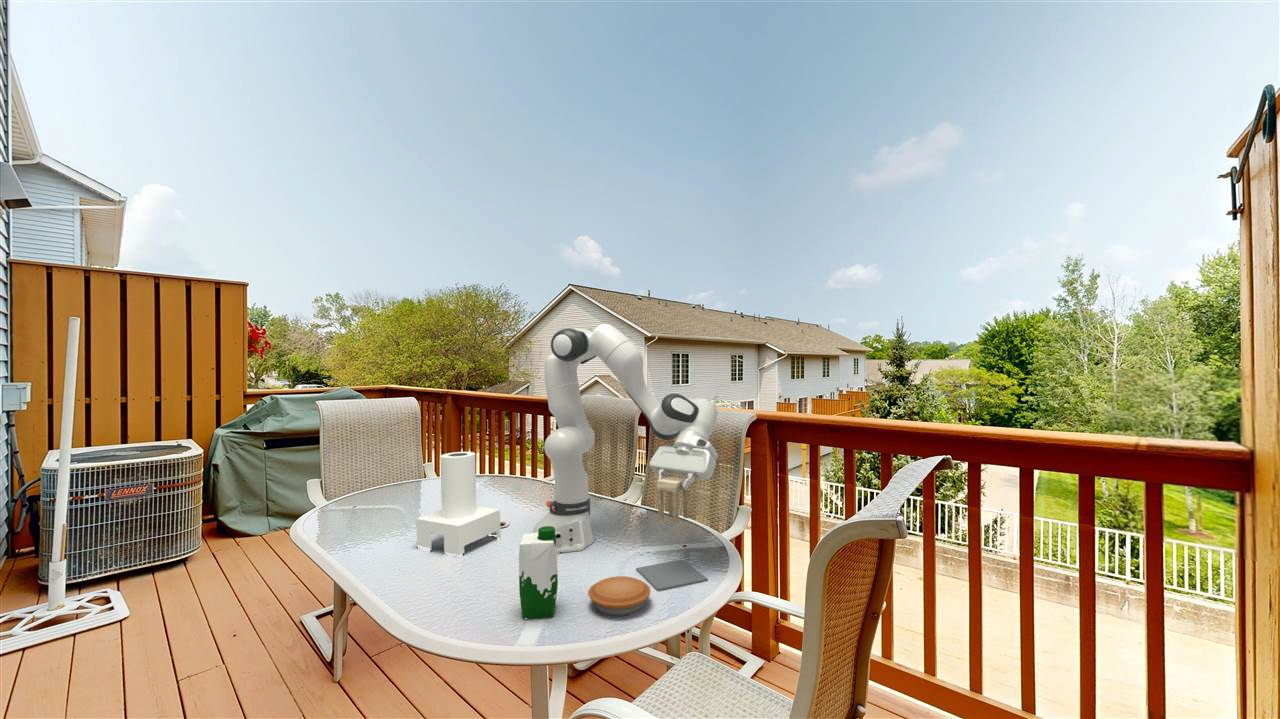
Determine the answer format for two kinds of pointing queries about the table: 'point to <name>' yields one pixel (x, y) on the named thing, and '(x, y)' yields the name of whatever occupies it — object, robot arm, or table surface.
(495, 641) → the table surface
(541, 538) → the milk carton
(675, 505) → the stool
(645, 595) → the pie
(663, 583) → the mat
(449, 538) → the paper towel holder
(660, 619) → the table surface
